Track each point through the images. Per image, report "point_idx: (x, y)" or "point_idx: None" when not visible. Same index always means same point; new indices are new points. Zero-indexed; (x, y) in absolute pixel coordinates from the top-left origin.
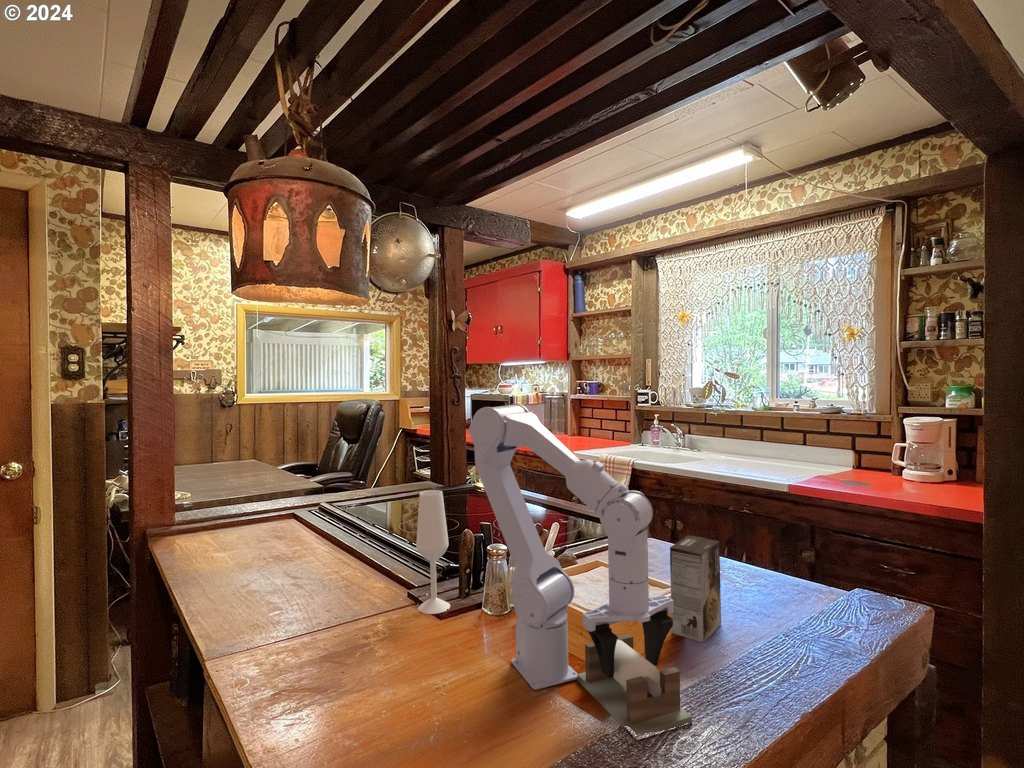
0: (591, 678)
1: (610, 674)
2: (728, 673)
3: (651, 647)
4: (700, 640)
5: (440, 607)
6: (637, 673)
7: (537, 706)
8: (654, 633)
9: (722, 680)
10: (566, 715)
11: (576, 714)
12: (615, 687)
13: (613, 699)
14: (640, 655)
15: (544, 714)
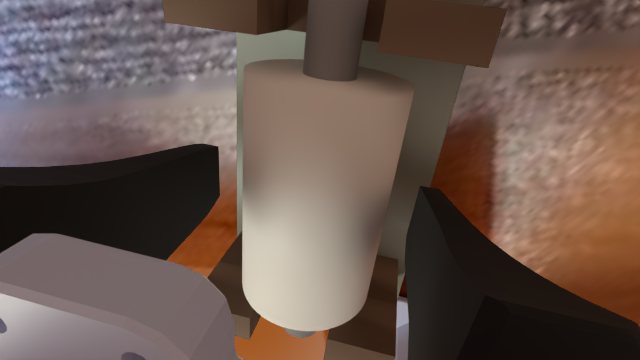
0: (391, 266)
1: (442, 193)
2: (7, 80)
3: (175, 197)
4: None
5: None
6: (369, 93)
7: (591, 279)
8: (111, 219)
9: (38, 64)
10: (560, 202)
11: (530, 188)
12: None
13: (401, 161)
14: (261, 185)
15: (611, 243)
